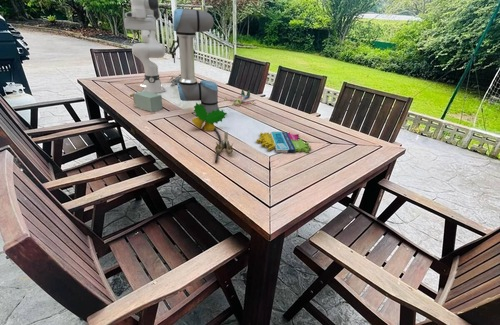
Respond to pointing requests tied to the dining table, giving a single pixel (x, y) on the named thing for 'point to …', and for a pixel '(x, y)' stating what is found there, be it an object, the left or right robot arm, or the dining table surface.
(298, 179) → the dining table surface
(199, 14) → the right robot arm
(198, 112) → the ornament
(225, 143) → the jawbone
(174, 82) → the airplane
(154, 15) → the left robot arm
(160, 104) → the grey-green rectangular block
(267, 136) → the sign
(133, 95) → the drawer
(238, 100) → the toy
